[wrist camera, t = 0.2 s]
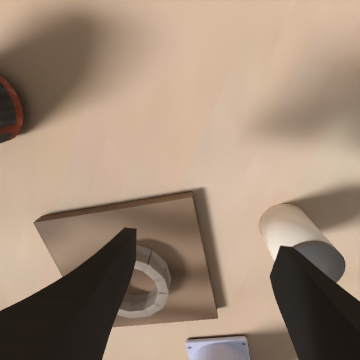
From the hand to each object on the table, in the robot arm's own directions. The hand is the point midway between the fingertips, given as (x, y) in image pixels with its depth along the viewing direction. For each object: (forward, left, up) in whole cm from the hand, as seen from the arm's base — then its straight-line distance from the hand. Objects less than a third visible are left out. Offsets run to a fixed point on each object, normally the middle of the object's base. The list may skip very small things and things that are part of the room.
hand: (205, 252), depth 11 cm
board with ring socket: (-9, +9, -10) cm, 16 cm away
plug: (-6, -7, -10) cm, 14 cm away
